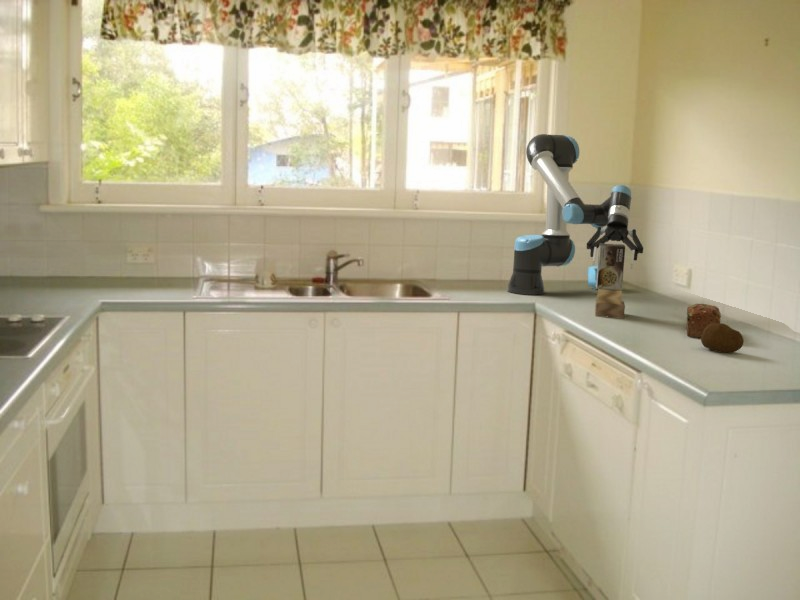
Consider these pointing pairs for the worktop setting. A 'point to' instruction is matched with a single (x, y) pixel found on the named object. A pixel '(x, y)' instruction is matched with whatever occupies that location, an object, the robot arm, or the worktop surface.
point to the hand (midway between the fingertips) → (612, 264)
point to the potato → (721, 338)
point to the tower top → (609, 296)
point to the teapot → (592, 276)
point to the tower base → (610, 310)
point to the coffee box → (610, 266)
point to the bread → (701, 318)
